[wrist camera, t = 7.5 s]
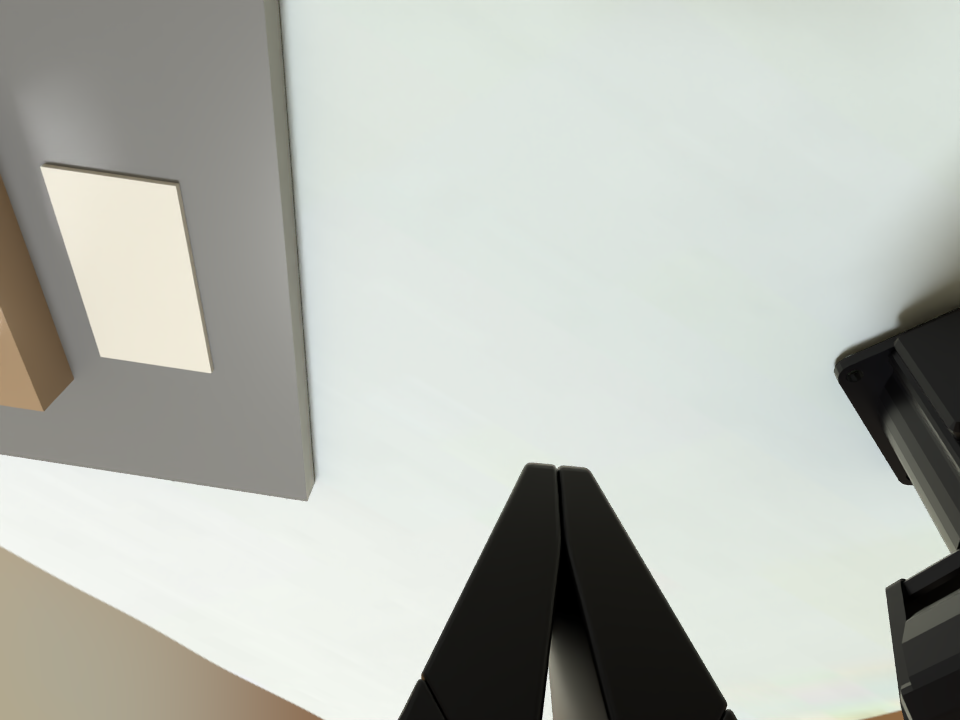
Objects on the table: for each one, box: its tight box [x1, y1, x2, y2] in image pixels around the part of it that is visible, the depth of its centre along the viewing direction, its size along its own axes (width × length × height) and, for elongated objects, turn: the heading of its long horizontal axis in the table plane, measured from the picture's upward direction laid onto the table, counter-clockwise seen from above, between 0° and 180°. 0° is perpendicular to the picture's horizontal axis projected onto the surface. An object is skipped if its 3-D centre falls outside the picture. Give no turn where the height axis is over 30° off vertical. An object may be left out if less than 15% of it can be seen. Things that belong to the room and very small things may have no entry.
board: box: [0, 0, 314, 501], centre depth 21 cm, size 18×20×3 cm
